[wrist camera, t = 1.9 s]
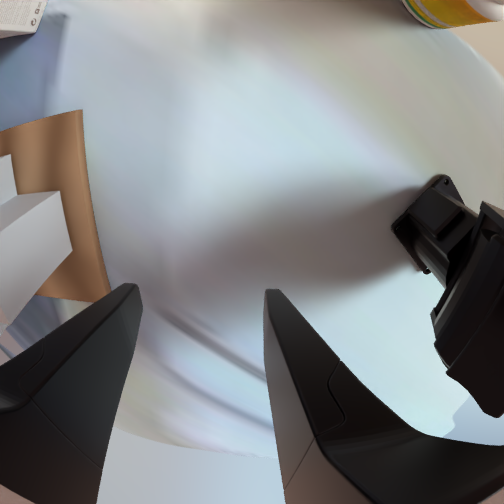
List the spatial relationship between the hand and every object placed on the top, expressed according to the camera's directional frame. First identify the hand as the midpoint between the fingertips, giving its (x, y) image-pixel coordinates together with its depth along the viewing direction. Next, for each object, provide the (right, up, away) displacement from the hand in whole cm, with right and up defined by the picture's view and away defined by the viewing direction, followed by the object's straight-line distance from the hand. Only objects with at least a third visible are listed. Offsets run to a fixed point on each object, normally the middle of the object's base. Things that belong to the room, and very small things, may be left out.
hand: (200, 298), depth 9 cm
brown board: (-20, +5, +11) cm, 23 cm away
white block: (-17, +4, +10) cm, 20 cm away
